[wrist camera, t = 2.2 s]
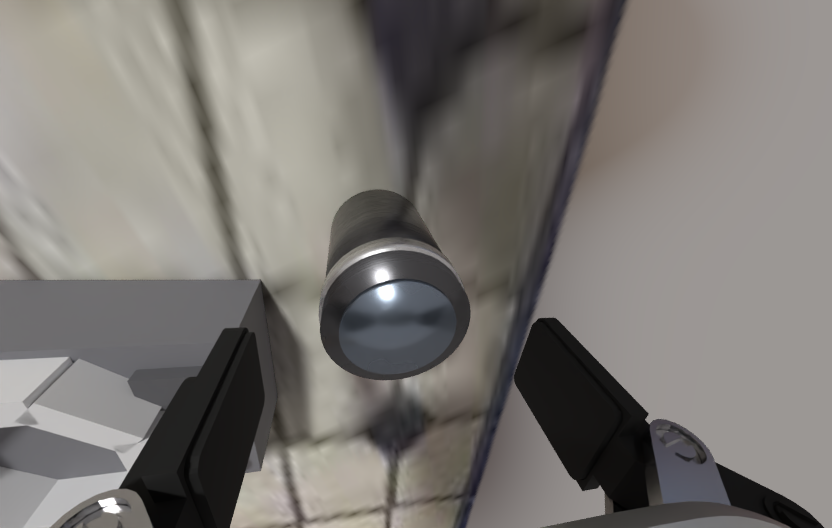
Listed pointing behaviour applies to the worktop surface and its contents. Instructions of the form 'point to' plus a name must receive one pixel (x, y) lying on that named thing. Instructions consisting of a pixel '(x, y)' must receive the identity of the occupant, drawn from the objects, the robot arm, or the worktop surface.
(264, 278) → the worktop surface
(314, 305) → the worktop surface
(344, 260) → the lens
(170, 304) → the camera body
